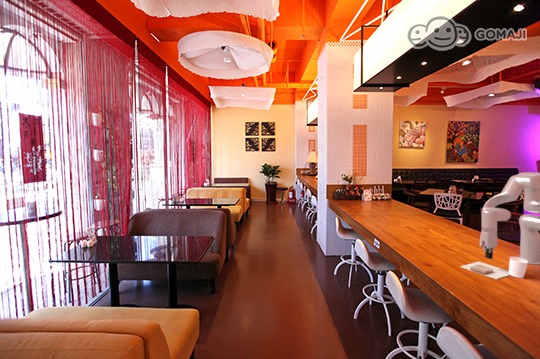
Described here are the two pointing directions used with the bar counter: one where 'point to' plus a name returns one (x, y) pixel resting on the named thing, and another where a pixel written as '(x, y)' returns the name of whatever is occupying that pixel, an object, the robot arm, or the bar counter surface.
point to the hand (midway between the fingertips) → (489, 258)
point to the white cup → (517, 267)
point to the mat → (496, 272)
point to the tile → (481, 269)
